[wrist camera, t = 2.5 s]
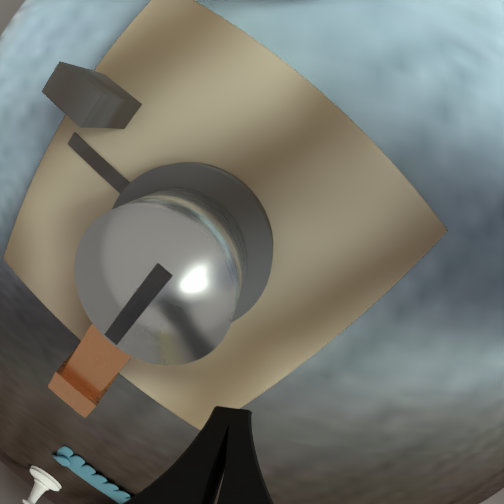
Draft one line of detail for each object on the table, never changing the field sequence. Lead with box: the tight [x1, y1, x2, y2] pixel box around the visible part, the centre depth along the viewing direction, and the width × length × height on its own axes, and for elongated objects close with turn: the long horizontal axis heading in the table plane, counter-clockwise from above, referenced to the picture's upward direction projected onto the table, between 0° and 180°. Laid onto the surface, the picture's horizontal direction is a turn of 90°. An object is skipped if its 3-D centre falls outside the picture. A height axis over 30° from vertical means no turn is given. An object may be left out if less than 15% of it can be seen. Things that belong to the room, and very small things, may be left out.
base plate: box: [3, 0, 448, 430], centre depth 11 cm, size 15×16×4 cm
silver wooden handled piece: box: [48, 188, 248, 418], centre depth 10 cm, size 11×5×3 cm, turn 139°
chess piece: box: [23, 465, 62, 504], centre depth 22 cm, size 5×5×10 cm
